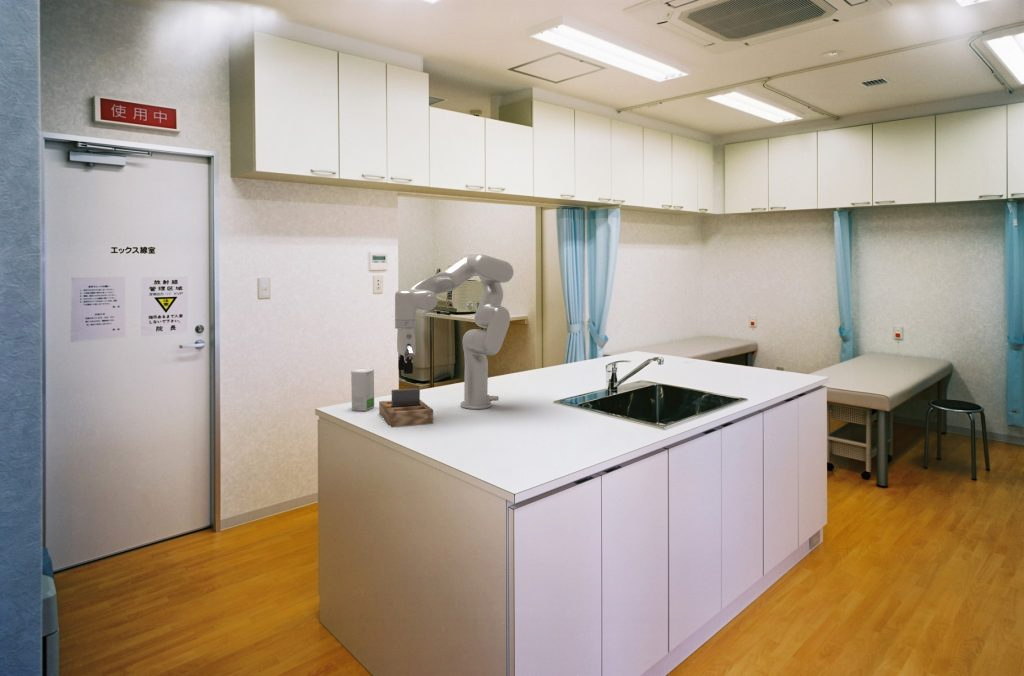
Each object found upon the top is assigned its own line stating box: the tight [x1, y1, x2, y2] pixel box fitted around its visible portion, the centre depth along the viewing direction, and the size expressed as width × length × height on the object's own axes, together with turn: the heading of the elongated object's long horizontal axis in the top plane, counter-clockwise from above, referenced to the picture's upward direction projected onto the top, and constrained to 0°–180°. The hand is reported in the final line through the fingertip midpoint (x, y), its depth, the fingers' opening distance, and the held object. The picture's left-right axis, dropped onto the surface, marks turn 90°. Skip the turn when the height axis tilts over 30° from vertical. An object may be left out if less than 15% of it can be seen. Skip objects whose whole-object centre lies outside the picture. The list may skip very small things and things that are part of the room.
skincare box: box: [350, 368, 375, 412], centre depth 242 cm, size 8×7×16 cm
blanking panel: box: [391, 388, 421, 408], centre depth 228 cm, size 10×2×9 cm, turn 113°
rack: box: [378, 399, 434, 428], centre depth 228 cm, size 16×20×6 cm
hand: (405, 371), depth 226 cm, fingers open, 7 cm apart
